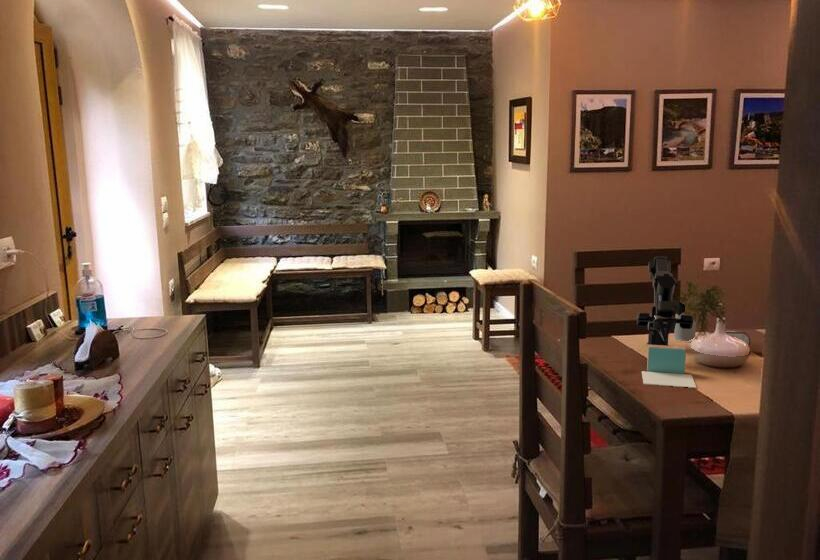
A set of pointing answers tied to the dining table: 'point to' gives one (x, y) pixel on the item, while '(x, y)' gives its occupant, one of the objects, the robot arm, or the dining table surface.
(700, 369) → the dining table surface
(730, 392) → the dining table surface
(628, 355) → the dining table surface
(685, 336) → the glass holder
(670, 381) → the mat
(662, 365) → the tile
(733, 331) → the tin
